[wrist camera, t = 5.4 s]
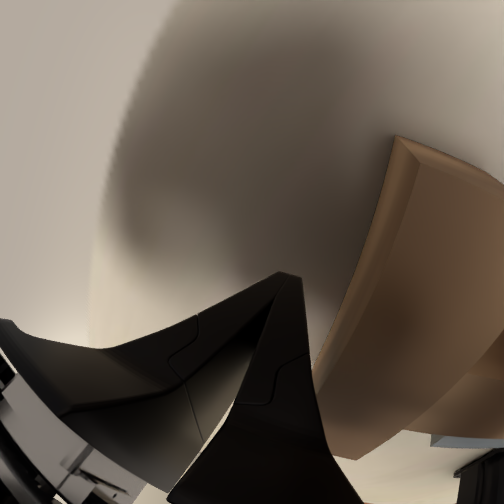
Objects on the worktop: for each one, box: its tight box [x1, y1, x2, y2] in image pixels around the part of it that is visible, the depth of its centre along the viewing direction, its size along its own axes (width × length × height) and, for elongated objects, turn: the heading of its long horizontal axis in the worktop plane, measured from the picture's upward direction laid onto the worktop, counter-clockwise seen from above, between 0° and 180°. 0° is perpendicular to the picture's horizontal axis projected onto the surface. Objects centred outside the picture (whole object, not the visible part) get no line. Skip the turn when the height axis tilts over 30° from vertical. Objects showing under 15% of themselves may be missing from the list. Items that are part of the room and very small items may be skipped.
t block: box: [312, 135, 504, 460], centre depth 6 cm, size 8×10×4 cm
